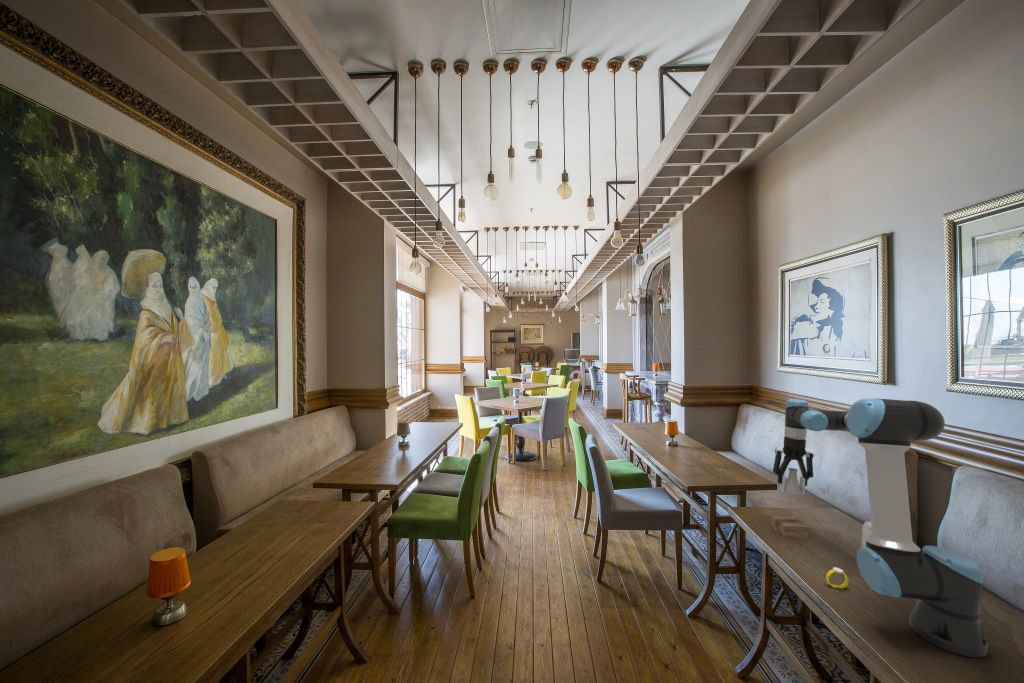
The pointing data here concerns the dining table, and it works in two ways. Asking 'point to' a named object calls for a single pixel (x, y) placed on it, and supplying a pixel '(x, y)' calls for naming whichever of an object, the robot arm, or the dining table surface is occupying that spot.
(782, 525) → the stacked wooden planks
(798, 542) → the dining table surface
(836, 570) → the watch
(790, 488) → the flask
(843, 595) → the dining table surface
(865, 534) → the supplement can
